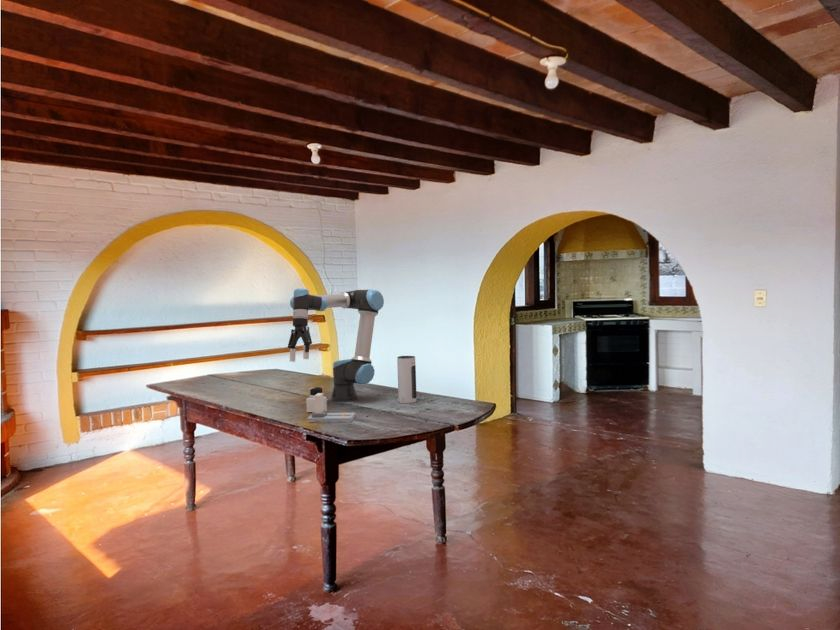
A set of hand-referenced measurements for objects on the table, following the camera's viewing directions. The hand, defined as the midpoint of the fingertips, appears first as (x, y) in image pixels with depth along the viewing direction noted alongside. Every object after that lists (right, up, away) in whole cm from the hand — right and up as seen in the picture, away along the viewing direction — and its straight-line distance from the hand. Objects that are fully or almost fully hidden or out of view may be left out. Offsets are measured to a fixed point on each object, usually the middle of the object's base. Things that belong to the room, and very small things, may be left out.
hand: (299, 360), depth 297 cm
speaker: (+54, -26, +36) cm, 70 cm away
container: (+6, -29, +17) cm, 34 cm away
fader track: (+17, -30, -1) cm, 34 cm away
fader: (+11, -27, -1) cm, 29 cm away
